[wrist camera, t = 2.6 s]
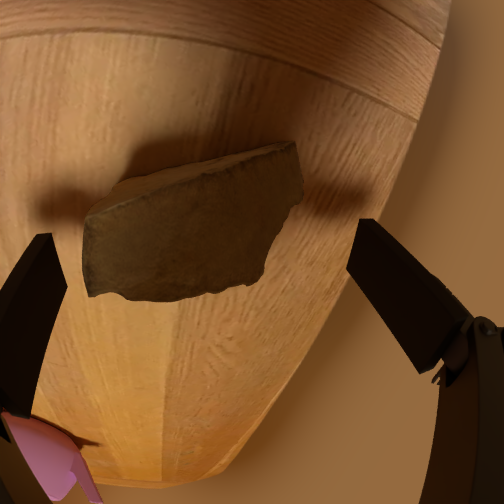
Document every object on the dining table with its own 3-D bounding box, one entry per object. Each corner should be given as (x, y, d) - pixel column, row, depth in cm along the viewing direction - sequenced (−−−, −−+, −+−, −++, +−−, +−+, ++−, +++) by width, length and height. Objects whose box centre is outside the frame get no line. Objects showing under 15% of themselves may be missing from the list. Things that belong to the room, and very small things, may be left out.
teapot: (4, 437, 29) (-3, 494, 20) (-42, 391, 21) (-58, 461, 11) (113, 459, 35) (117, 524, 25) (86, 421, 27) (84, 512, 17)
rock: (347, 102, 12) (121, 48, 8) (405, 285, 10) (72, 293, 5) (252, 205, 21) (108, 193, 17) (267, 326, 19) (103, 332, 15)
